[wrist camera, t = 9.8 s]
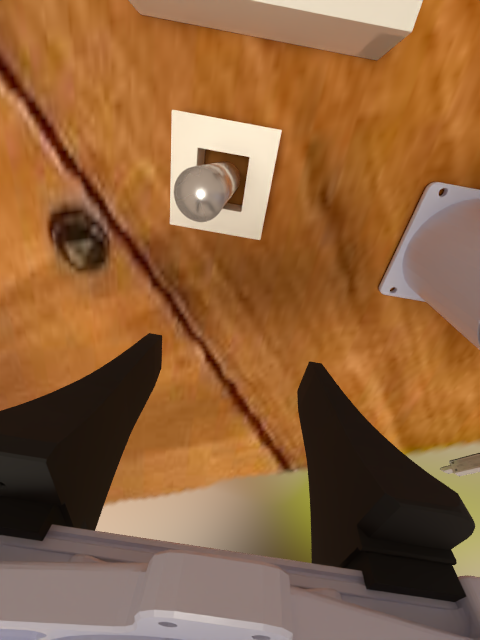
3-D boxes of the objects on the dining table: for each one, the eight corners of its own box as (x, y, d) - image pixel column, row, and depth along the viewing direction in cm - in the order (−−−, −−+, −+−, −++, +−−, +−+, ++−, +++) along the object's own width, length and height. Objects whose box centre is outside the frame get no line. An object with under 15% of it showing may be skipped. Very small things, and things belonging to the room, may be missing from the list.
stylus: (242, 164, 18) (227, 171, 10) (237, 197, 19) (220, 226, 11) (212, 158, 18) (174, 161, 10) (209, 191, 19) (172, 217, 11)
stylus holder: (279, 133, 17) (281, 130, 15) (260, 231, 20) (260, 240, 18) (183, 115, 17) (171, 109, 14) (179, 216, 20) (169, 224, 18)
